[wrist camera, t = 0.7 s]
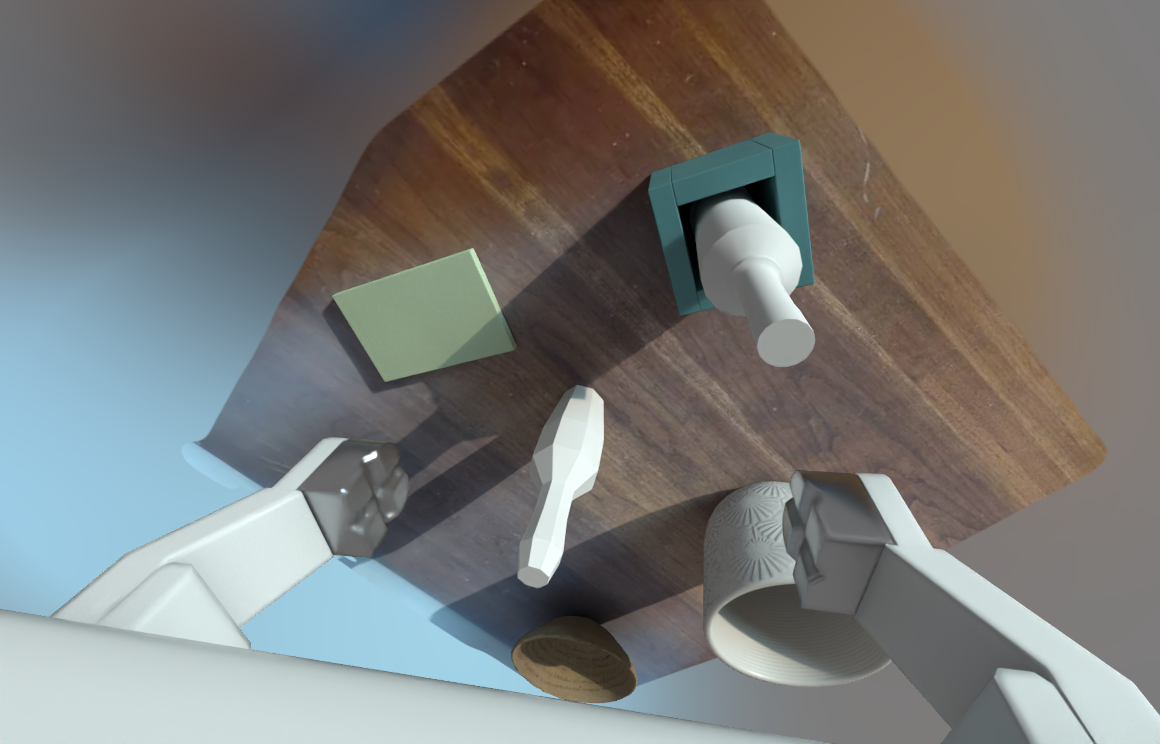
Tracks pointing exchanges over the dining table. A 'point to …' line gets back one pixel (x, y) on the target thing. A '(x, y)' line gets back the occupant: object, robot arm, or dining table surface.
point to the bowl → (575, 661)
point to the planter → (772, 601)
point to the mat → (427, 317)
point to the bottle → (752, 272)
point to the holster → (717, 172)
